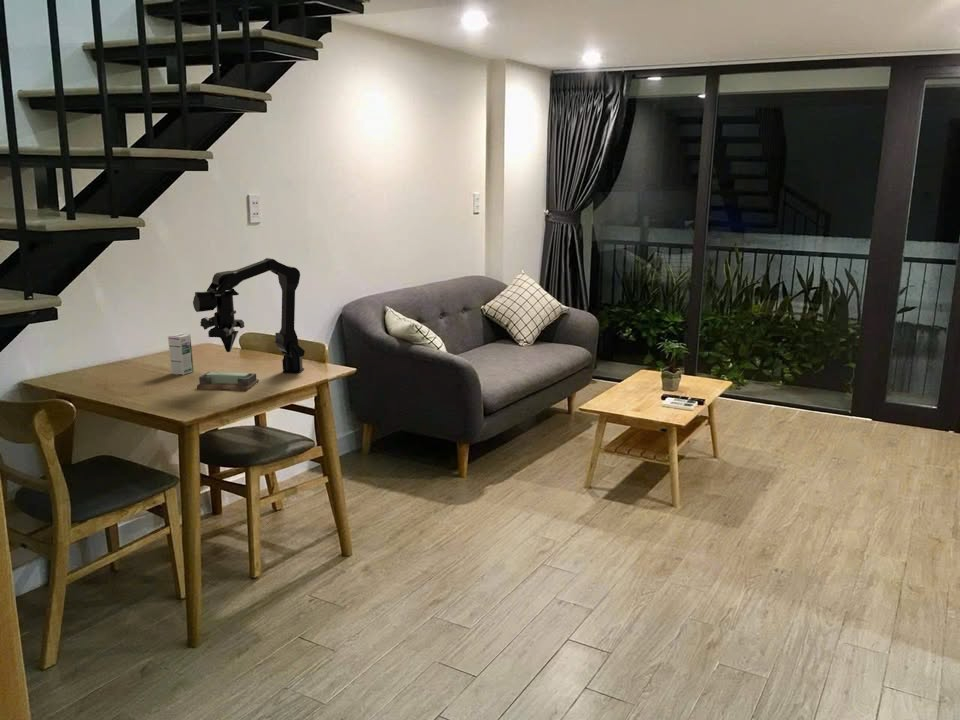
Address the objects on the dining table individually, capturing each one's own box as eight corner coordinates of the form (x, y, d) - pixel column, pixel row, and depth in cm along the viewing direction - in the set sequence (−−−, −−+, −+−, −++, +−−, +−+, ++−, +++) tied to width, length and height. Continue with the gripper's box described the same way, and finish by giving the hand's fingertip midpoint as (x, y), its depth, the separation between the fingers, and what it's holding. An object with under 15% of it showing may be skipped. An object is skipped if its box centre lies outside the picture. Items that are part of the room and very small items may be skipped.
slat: (249, 381, 285) (248, 373, 284) (245, 384, 281) (245, 375, 280) (210, 380, 286) (210, 372, 285) (206, 382, 282) (206, 374, 281)
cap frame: (258, 382, 288) (258, 372, 287) (247, 390, 277) (246, 380, 277) (210, 380, 290) (209, 370, 289) (197, 388, 279) (196, 378, 278)
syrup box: (183, 375, 297) (180, 336, 293) (170, 373, 299) (167, 335, 295) (193, 371, 302) (191, 333, 298) (181, 370, 304) (178, 332, 300)
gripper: (213, 303, 292) (216, 345, 295) (191, 313, 274) (195, 357, 277) (243, 304, 291) (246, 346, 295) (223, 313, 273) (227, 358, 277)
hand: (228, 351), depth 286 cm, fingers closed
